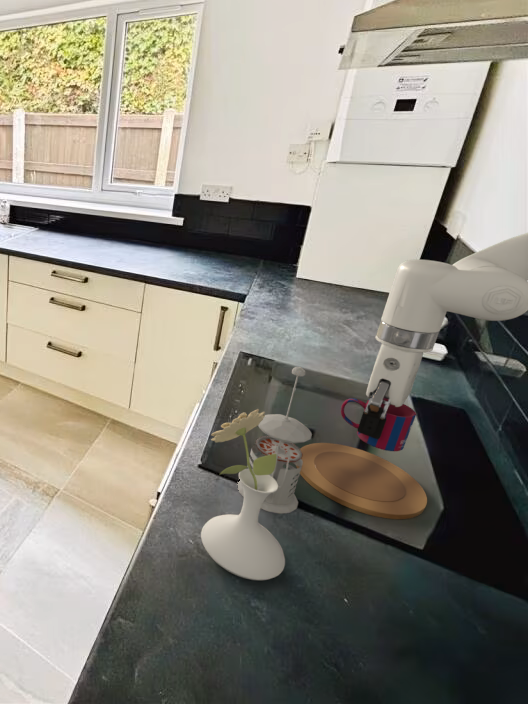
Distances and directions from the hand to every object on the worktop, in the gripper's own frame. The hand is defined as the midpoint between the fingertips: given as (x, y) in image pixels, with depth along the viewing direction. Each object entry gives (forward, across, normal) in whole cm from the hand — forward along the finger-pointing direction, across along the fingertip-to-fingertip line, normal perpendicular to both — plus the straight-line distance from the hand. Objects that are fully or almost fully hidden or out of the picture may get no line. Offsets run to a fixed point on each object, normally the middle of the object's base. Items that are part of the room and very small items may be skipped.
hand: (374, 426), depth 82 cm
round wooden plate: (+12, 0, 0) cm, 12 cm away
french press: (+12, -18, +9) cm, 23 cm away
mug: (+2, 0, 0) cm, 2 cm away
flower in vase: (+12, -35, +7) cm, 38 cm away
